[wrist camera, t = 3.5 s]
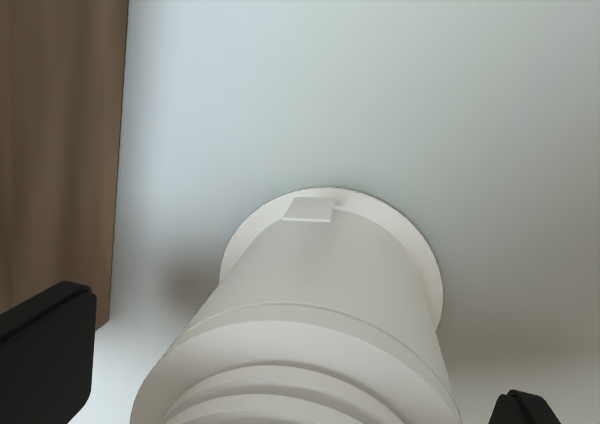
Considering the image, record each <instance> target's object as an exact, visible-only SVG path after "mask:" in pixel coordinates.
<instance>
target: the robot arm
mask: <svg viewBox="0 0 600 424" xmlns="http://www.w3.org/2000/svg"><path fill="white" fill-rule="evenodd" d="M96 308H97V297H96V295H95V294H93V293H92V290H91V287H89V286H87V285H83V284H79V283H75V282H71V281H66V280H64V281H61V282H59V283H57V284H55V285H53V286H51V287H50V288H48V289H46V290H44V291H42V292H40V293H39V294H37V295H35V296H33V297H31V298H29V299H28V300H26V301H24V302H22V303H20V304H18V305H17V306H15V307H13V308H11V309H9V310H7V311H6V312H4V313H2V314H0V424H67V423H68V422H69V421H70V420H71V419H72V418H73V417H74V416H75V415H76V414H77V413H78V412H79V411H80V410H81V409H82V408H83V406H84V405H85V404H86V402H87V400H88V398H89V396H90V392H91V383H92V368H93V353H94V338H95V323H96ZM489 424H561V423H560V421H559V420H558V418H557V417H556V416H555V414H554V413H553V411H552V410H551V408H550V407H549V405H548V404H547V402H546V401H545V400H544V399H543V398H542V397H540V396H538V395H534V394H529V393H525V392H521V391H517V390H510V391H509V392H508V393H507V395H504V394H502V395H500V396H499V397H498V399H497V402H496V405H495V407H494V410H493V413H492V416H491V418H490V421H489Z"/></svg>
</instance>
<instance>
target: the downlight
mask: <svg viewBox="0 0 600 424" xmlns="http://www.w3.org/2000/svg"><path fill="white" fill-rule="evenodd" d="M442 307H443V285H442V279H441V274H440V271H439V267H438V264H437V262H436V259H435V257H434V255H433V252H432V250H431V249H430V247H429V245H428V243H427V241H426V240H425V239H424V237H423V236H422V234H421V233H420V232H419V231H418V229H417V228H416V227H415V226H414V225H413V224H412V223H411V222H410V221H409V220H408V219H407V218H406V217H405V216H403V215H402V214H401V213H400V212H398V211H397V210H396V209H394V208H393V207H391V206H389V205H388V204H386V203H384V202H382V201H380V200H378V199H376V198H374V197H372V196H369V195H366V194H364V193H360V192H357V191H353V190H348V189H343V188H333V187H315V188H307V189H301V190H297V191H293V192H290V193H287V194H284V195H281V196H279V197H277V198H274V199H272V200H271V201H269V202H267V203H265V204H264V205H262V206H261V207H260V208H258V209H257V210H255V211H254V212H253V213H252V214H251V215H250V216H249V217H248V218H247V219H246V220H245V221H244V222H243V223H242V224H241V225H240V226H239V228H238V229H237V230H236V232H235V233H234V235H233V236H232V238H231V240H230V241H229V243H228V246H227V248H226V250H225V253H224V256H223V259H222V263H221V268H220V276H219V285H218V286H217V288H216V289H215V290H214V291H213V293H212V294H211V295H210V296H209V298H208V299H207V300H206V302H205V303H204V304H203V305H202V307H201V308H200V309H199V311H198V312H197V313H196V314H195V316H194V317H193V318H192V319H191V321H190V322H189V323H188V325H187V326H186V327H185V328H184V330H183V331H182V332H181V334H180V335H179V336H178V337H177V339H176V340H175V341H174V342H173V344H172V345H171V346H170V348H169V349H168V350H167V351H166V353H165V354H164V355H163V356H162V358H161V359H160V360H159V361H158V363H157V364H156V365H155V366H154V368H153V369H152V370H151V372H150V373H149V374H148V376H147V377H146V378H145V380H144V382H143V384H142V385H141V387H140V389H139V391H138V393H137V396H136V398H135V401H134V404H133V408H132V412H131V417H130V424H463V423H462V420H461V417H460V413H459V410H458V406H457V403H456V400H455V396H454V393H453V390H452V386H451V383H450V379H449V376H448V373H447V369H446V366H445V363H444V359H443V356H442V352H441V349H440V346H439V342H438V339H437V335H436V330H437V328H438V325H439V321H440V318H441V313H442Z"/></svg>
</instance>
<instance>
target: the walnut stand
mask: <svg viewBox="0 0 600 424" xmlns="http://www.w3.org/2000/svg"><path fill="white" fill-rule="evenodd" d="M127 11H128V0H0V314H2V313H4V312H6V311H7V310H9V309H11V308H13V307H15V306H17V305H18V304H20V303H22V302H24V301H26V300H28V299H29V298H31V297H33V296H35V295H37V294H39V293H40V292H42V291H44V290H46V289H48V288H50V287H51V286H53V285H55V284H57V283H59V282H61V281H64V280H66V281H71V282H75V283H79V284H83V285H87V286H89V287H91V290H92V293H93V294H95V295H96V297H97V308H96V323H95V331H97V330H98V329H99V328H100V327H102V326H103V325H104V324H105V323H107V322H108V314H109V298H110V283H111V267H112V251H113V235H114V219H115V203H116V187H117V171H118V155H119V139H120V123H121V107H122V91H123V75H124V59H125V43H126V27H127Z"/></svg>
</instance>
